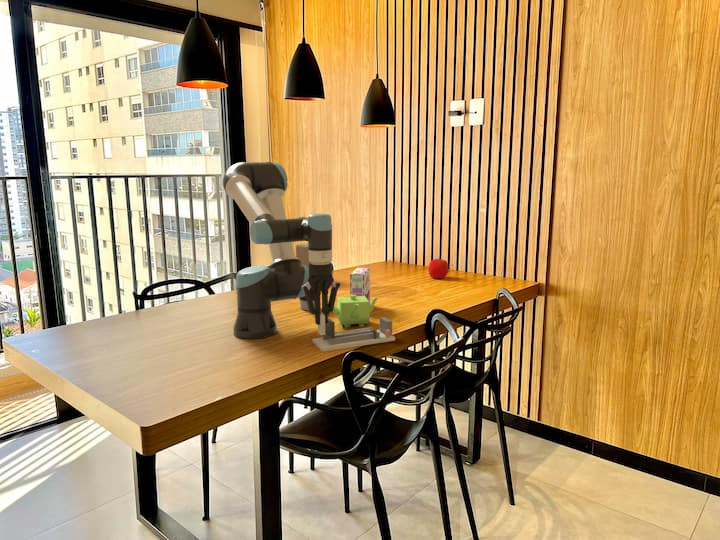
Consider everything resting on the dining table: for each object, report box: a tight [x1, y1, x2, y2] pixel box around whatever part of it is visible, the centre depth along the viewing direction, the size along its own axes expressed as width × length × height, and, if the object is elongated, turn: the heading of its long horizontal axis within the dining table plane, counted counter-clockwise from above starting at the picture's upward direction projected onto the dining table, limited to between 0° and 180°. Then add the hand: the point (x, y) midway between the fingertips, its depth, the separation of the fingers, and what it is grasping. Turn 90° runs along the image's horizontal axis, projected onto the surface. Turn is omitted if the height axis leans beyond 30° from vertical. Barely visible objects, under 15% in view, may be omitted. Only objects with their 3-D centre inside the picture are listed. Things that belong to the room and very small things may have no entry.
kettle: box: [332, 295, 381, 328], centre depth 193 cm, size 15×14×11 cm
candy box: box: [349, 267, 371, 305], centre depth 213 cm, size 14×6×16 cm, turn 168°
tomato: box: [428, 258, 450, 280], centre depth 274 cm, size 10×11×11 cm
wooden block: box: [295, 241, 310, 269], centre depth 266 cm, size 10×10×20 cm
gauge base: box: [312, 316, 396, 352], centre depth 174 cm, size 26×10×6 cm, turn 114°
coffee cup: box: [298, 286, 315, 311], centre depth 215 cm, size 10×10×15 cm
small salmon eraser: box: [385, 329, 390, 337], centre depth 174 cm, size 1×1×2 cm
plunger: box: [325, 317, 378, 339], centre depth 172 cm, size 16×8×7 cm, turn 114°
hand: (321, 333), depth 169 cm, fingers closed
